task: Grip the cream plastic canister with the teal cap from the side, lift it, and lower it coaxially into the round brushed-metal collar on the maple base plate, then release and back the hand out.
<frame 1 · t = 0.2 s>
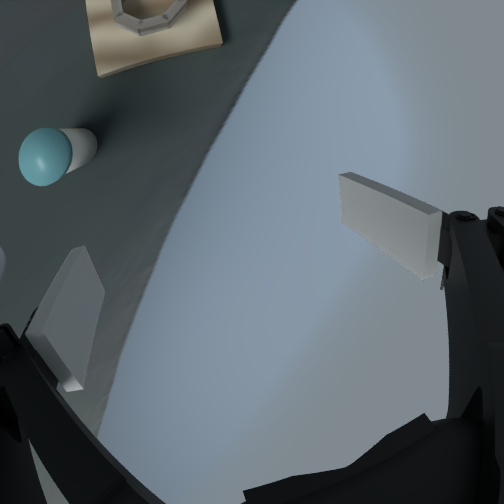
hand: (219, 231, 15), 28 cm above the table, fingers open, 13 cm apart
collar base: (149, 10, 29), on the table
canister: (80, 146, 34), on the table
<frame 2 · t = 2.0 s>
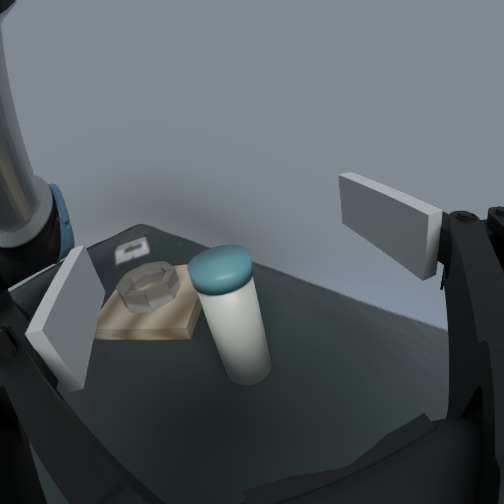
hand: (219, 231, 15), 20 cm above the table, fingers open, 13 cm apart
collar base: (155, 304, 46), on the table
canister: (248, 367, 32), on the table
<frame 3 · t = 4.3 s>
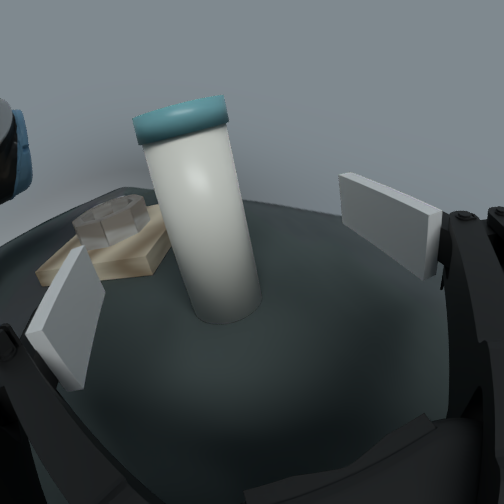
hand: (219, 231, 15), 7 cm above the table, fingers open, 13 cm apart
collar base: (119, 246, 36), on the table
canister: (227, 301, 22), on the table
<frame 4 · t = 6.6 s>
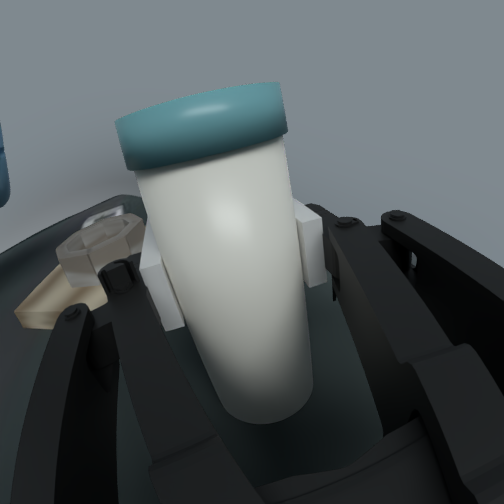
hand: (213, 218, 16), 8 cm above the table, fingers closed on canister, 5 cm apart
collar base: (114, 278, 29), on the table
canister: (265, 384, 15), on the table, touching gripper
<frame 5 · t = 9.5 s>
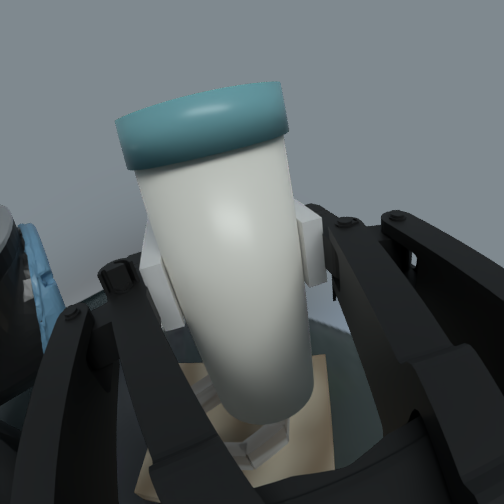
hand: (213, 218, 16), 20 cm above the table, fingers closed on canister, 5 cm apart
collar base: (242, 436, 25), on the table
canister: (265, 385, 15), point 13 cm above the table, touching gripper
when the fingers open (10 cm above the table, at t = 12.6 s): canister stays where it is, resting on collar base.
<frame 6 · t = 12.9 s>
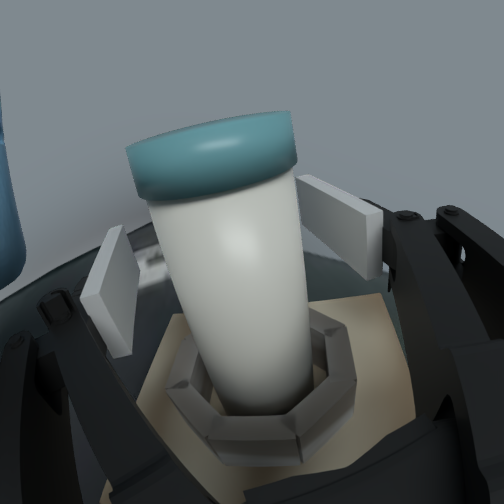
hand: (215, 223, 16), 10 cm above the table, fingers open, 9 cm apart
collar base: (273, 413, 17), on the table
canister: (268, 395, 16), point 2 cm above the table, touching collar base
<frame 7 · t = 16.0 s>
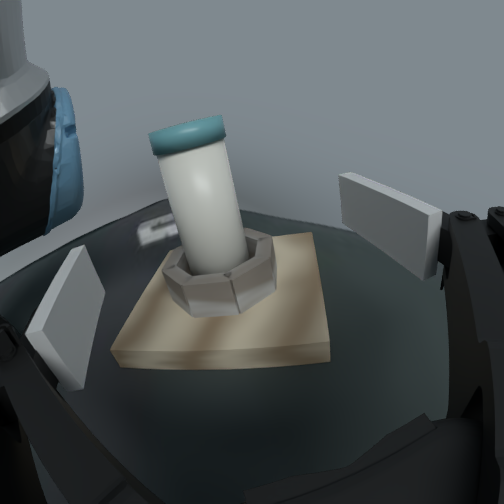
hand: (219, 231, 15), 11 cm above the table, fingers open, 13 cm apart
collar base: (230, 301, 28), on the table
canister: (225, 283, 27), point 2 cm above the table, touching collar base
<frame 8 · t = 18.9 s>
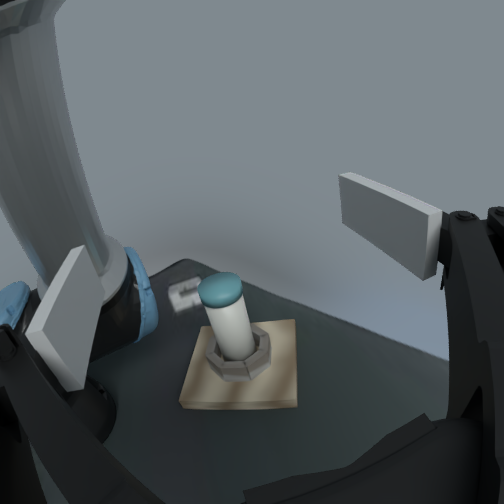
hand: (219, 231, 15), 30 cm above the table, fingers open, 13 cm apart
collar base: (244, 367, 45), on the table
canister: (241, 358, 44), point 2 cm above the table, touching collar base
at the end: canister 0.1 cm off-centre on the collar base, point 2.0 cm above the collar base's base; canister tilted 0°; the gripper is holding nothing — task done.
